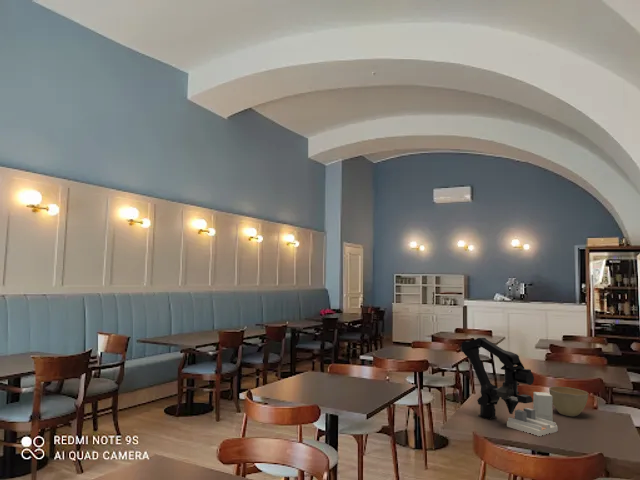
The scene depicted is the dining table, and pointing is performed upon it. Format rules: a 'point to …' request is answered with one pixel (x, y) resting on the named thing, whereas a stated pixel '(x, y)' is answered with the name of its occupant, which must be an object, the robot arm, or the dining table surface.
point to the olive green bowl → (568, 400)
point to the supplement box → (543, 405)
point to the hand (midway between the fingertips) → (510, 413)
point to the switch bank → (533, 426)
